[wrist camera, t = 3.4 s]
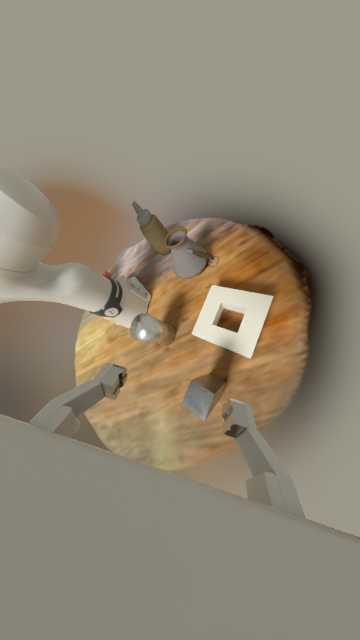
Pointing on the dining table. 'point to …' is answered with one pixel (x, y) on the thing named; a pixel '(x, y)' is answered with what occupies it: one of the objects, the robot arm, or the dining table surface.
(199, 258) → the coffee pot
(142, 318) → the round bit
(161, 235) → the squeeze bottle
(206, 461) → the dining table surface
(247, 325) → the socket block
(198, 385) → the square bit
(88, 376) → the dining table surface
